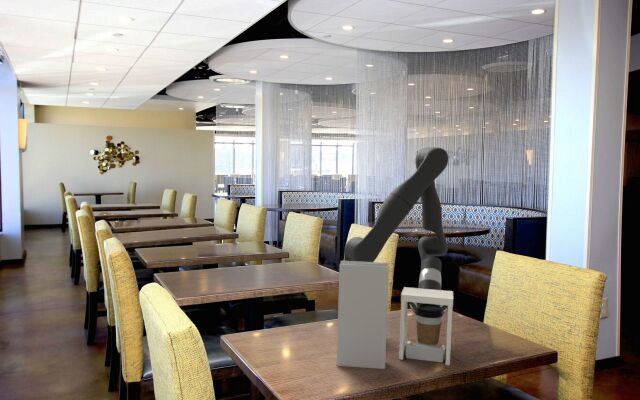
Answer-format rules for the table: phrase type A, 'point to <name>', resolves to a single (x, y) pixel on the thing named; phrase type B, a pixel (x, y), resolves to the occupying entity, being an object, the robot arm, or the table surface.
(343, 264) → the tall white box
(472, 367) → the table surface
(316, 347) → the table surface
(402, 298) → the white rectangular frame
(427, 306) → the coffee cup
